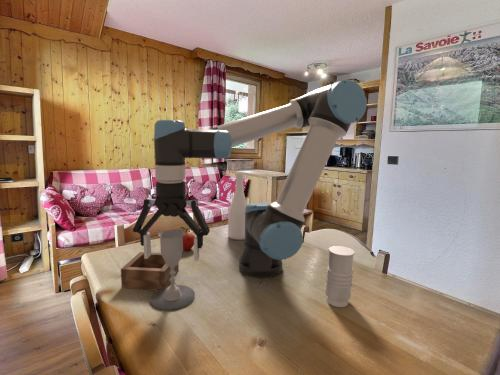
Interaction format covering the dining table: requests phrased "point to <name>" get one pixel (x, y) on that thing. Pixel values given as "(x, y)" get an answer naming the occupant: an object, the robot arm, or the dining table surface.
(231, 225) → the wine bottle
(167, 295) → the chalice
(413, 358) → the dining table surface
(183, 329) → the dining table surface
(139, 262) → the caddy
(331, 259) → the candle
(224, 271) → the dining table surface
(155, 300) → the coaster
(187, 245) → the apple
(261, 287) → the dining table surface
